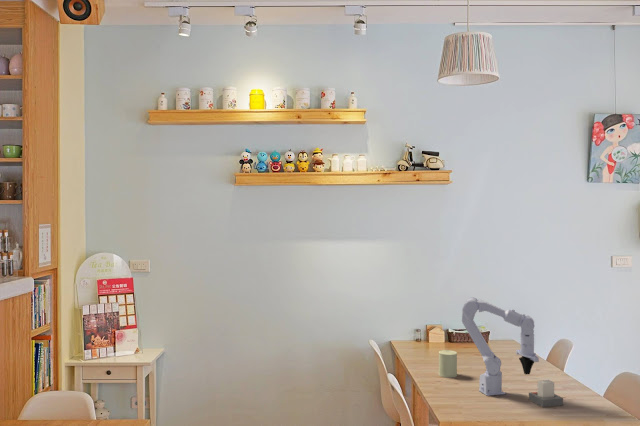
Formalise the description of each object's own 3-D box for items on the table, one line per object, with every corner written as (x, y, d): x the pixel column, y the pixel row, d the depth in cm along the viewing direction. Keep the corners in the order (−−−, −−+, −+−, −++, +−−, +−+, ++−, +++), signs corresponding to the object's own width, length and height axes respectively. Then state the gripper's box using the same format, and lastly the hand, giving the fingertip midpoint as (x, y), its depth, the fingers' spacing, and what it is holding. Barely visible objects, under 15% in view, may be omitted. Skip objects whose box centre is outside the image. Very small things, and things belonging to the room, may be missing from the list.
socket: (563, 405, 256) (563, 397, 256) (542, 407, 253) (542, 399, 253) (548, 397, 265) (548, 390, 265) (528, 399, 263) (528, 392, 263)
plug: (554, 401, 258) (554, 382, 258) (543, 402, 257) (543, 383, 257) (548, 398, 262) (548, 379, 262) (537, 399, 261) (537, 380, 260)
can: (454, 372, 305) (454, 349, 304) (459, 377, 295) (459, 353, 295) (436, 372, 304) (436, 349, 304) (440, 377, 295) (440, 353, 295)
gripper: (544, 347, 261) (544, 377, 262) (525, 339, 275) (525, 368, 276) (530, 348, 260) (530, 379, 260) (512, 340, 274) (511, 369, 274)
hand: (527, 373), depth 268 cm, fingers closed
